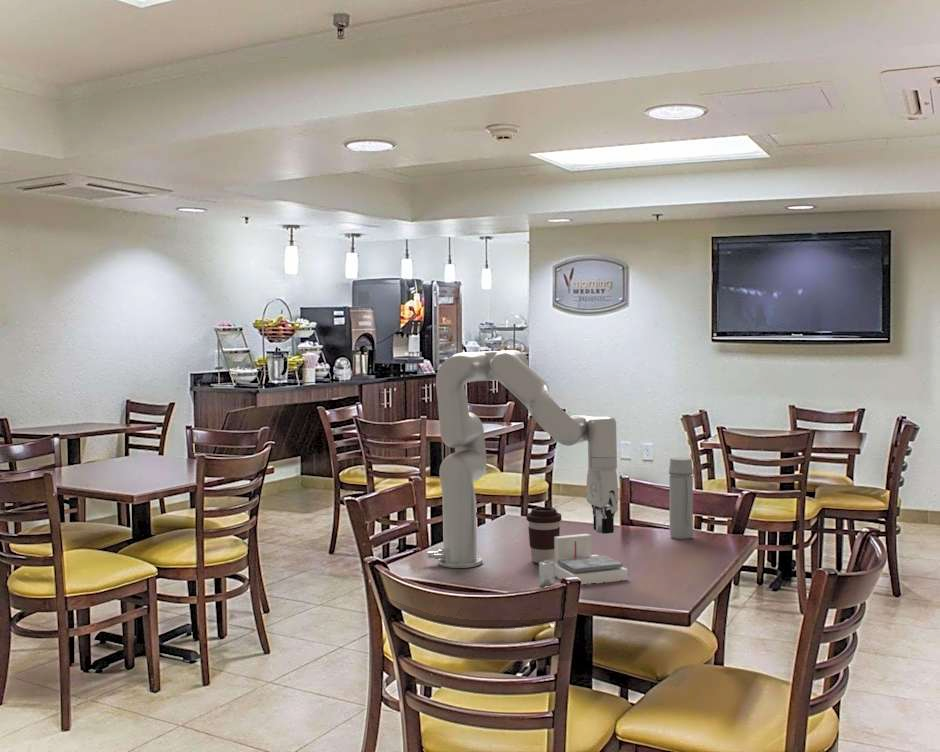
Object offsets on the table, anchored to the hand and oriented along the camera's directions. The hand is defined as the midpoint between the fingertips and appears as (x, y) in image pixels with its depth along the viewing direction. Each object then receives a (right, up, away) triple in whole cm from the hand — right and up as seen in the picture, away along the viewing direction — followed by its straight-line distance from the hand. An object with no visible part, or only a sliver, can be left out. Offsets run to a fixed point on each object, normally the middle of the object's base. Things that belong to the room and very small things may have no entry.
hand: (603, 530), depth 243 cm
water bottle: (+31, -10, +44) cm, 55 cm away
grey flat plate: (-4, -9, -1) cm, 10 cm away
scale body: (-5, -12, +2) cm, 13 cm away
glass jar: (0, 0, 0) cm, 0 cm away
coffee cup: (-14, -12, +17) cm, 25 cm away
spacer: (-16, -13, -9) cm, 22 cm away
